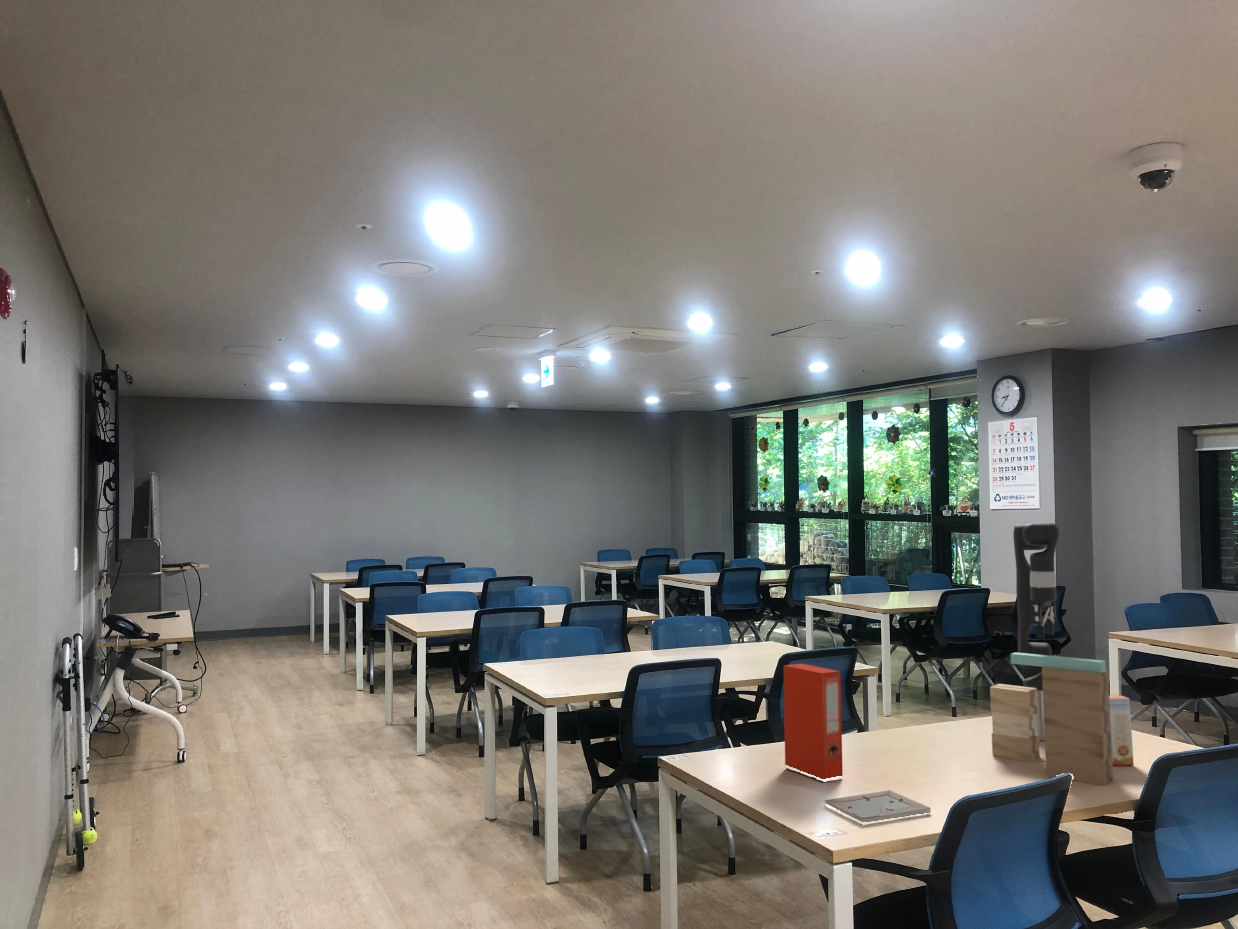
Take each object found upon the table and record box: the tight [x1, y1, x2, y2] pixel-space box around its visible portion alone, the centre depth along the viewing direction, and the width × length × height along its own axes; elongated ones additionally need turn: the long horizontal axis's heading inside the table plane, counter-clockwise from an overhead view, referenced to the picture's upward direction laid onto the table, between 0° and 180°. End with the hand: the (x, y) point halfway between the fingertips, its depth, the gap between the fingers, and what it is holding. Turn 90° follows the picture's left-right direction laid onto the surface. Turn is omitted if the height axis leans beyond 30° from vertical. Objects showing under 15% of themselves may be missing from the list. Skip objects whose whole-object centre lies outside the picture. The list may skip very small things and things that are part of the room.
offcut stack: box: [989, 683, 1041, 763], centre depth 288 cm, size 8×12×22 cm
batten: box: [1010, 652, 1107, 673], centre depth 269 cm, size 4×26×3 cm, turn 45°
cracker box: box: [1109, 694, 1134, 766], centre depth 278 cm, size 14×6×21 cm, turn 84°
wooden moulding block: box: [1041, 667, 1114, 787], centre depth 264 cm, size 8×16×32 cm, turn 45°
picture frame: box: [824, 789, 932, 822], centre depth 235 cm, size 16×2×22 cm
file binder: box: [783, 663, 844, 779], centre depth 271 cm, size 8×17×32 cm, turn 29°
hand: (1045, 636), depth 282 cm, fingers open, 8 cm apart
